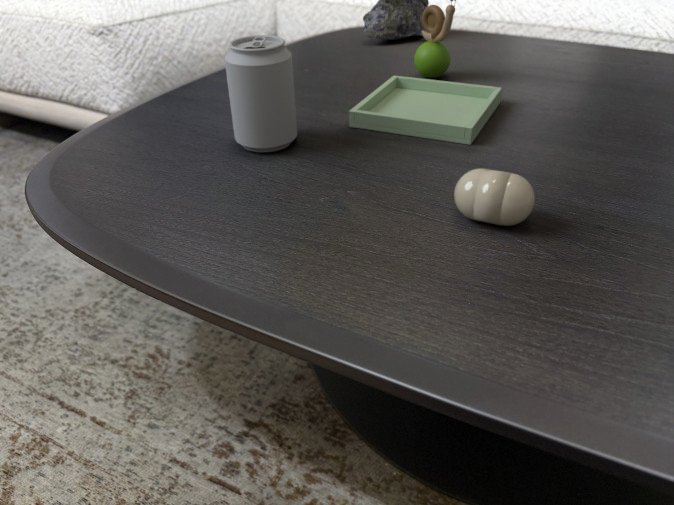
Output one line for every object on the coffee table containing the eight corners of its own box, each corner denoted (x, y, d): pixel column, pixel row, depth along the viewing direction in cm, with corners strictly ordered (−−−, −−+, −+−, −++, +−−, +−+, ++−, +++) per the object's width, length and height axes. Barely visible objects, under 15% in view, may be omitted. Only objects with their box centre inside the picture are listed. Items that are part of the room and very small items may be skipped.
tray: (500, 102, 82) (502, 87, 81) (470, 145, 70) (472, 128, 69) (393, 89, 88) (393, 75, 87) (349, 126, 76) (348, 110, 75)
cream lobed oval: (535, 215, 56) (543, 168, 54) (525, 240, 53) (533, 191, 50) (459, 201, 59) (464, 156, 56) (445, 224, 55) (449, 177, 53)
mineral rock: (363, 46, 108) (363, -14, 103) (360, 32, 117) (359, -24, 112) (435, 43, 108) (438, -17, 103) (426, 29, 117) (429, -27, 112)
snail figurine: (435, 86, 88) (440, -1, 82) (406, 76, 93) (409, -7, 86) (461, 79, 91) (468, -6, 84) (431, 69, 95) (436, -12, 89)
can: (228, 154, 70) (213, 49, 63) (244, 129, 76) (233, 31, 70) (291, 156, 69) (283, 49, 62) (303, 131, 75) (296, 32, 69)
